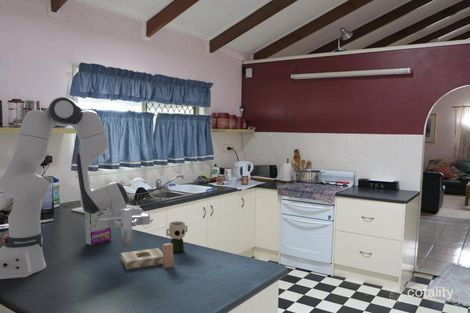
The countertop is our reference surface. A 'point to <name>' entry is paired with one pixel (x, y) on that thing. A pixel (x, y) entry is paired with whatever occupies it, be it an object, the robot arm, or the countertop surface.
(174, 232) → the character mug
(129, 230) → the steel pin
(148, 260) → the hole plate
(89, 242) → the candy bar box
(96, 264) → the countertop surface
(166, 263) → the terracotta pin
